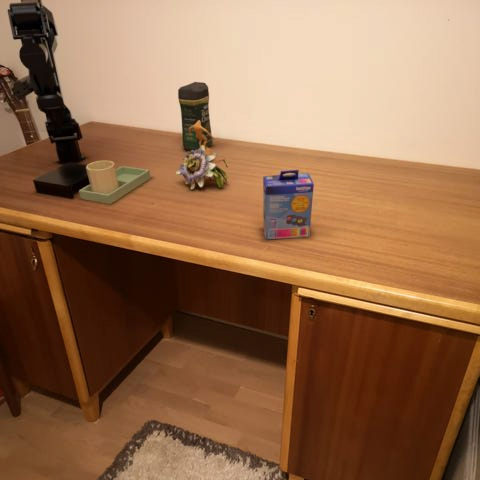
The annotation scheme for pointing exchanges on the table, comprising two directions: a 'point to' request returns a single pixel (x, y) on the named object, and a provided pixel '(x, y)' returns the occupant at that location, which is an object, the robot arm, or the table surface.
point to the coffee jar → (194, 113)
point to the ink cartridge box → (287, 205)
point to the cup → (102, 176)
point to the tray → (127, 182)
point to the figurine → (201, 135)
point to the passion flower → (201, 168)
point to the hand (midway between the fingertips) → (57, 128)
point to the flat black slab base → (61, 180)
